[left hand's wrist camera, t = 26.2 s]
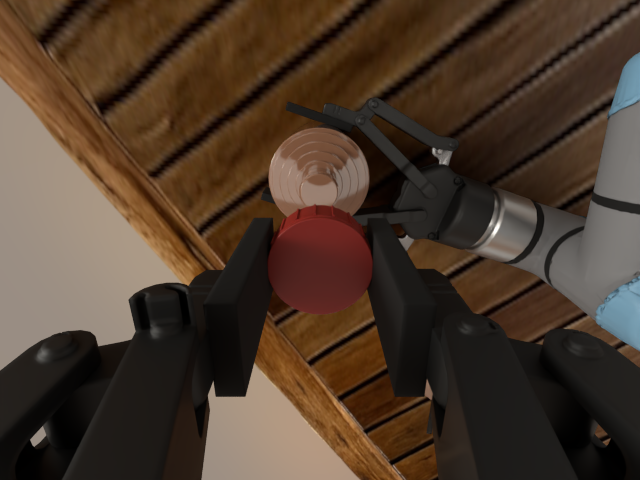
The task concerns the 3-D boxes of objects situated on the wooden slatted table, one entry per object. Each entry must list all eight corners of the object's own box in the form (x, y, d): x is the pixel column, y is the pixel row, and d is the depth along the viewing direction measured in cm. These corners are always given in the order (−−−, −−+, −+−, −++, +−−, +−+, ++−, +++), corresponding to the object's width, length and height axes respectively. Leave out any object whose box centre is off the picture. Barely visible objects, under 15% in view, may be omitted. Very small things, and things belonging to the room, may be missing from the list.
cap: (377, 279, 15) (385, 301, 13) (288, 301, 15) (284, 325, 13) (355, 191, 13) (361, 203, 12) (258, 218, 14) (249, 233, 12)
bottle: (293, 197, 43) (275, 256, 26) (277, 129, 40) (246, 144, 23) (358, 185, 43) (385, 236, 26) (347, 114, 40) (369, 119, 23)
